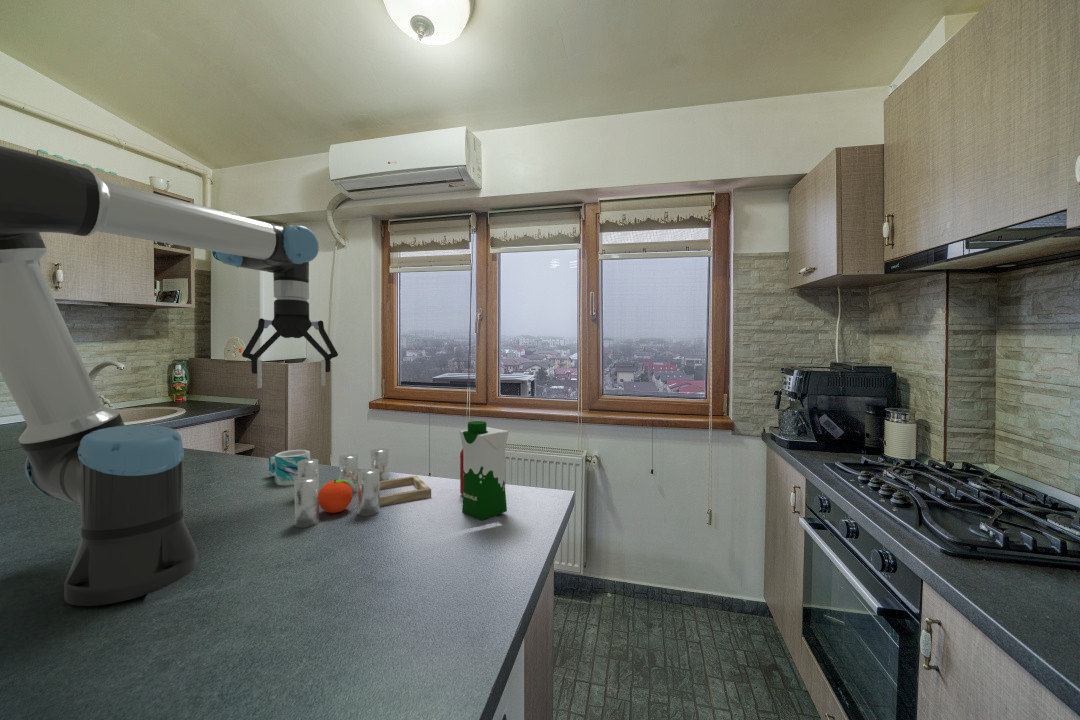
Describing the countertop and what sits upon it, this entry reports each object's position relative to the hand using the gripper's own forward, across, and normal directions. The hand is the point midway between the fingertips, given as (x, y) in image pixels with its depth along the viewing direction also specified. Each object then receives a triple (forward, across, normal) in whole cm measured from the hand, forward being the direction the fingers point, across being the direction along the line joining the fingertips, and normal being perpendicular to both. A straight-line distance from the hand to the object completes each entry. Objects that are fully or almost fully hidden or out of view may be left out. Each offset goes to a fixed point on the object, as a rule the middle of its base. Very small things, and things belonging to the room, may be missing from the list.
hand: (292, 386), depth 105 cm
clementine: (+27, -8, +18) cm, 33 cm away
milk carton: (+27, -36, +35) cm, 57 cm away
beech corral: (+27, -22, +13) cm, 37 cm away
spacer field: (+27, -9, +13) cm, 31 cm away
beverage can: (+27, -38, +23) cm, 52 cm away
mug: (+27, +1, -12) cm, 29 cm away
